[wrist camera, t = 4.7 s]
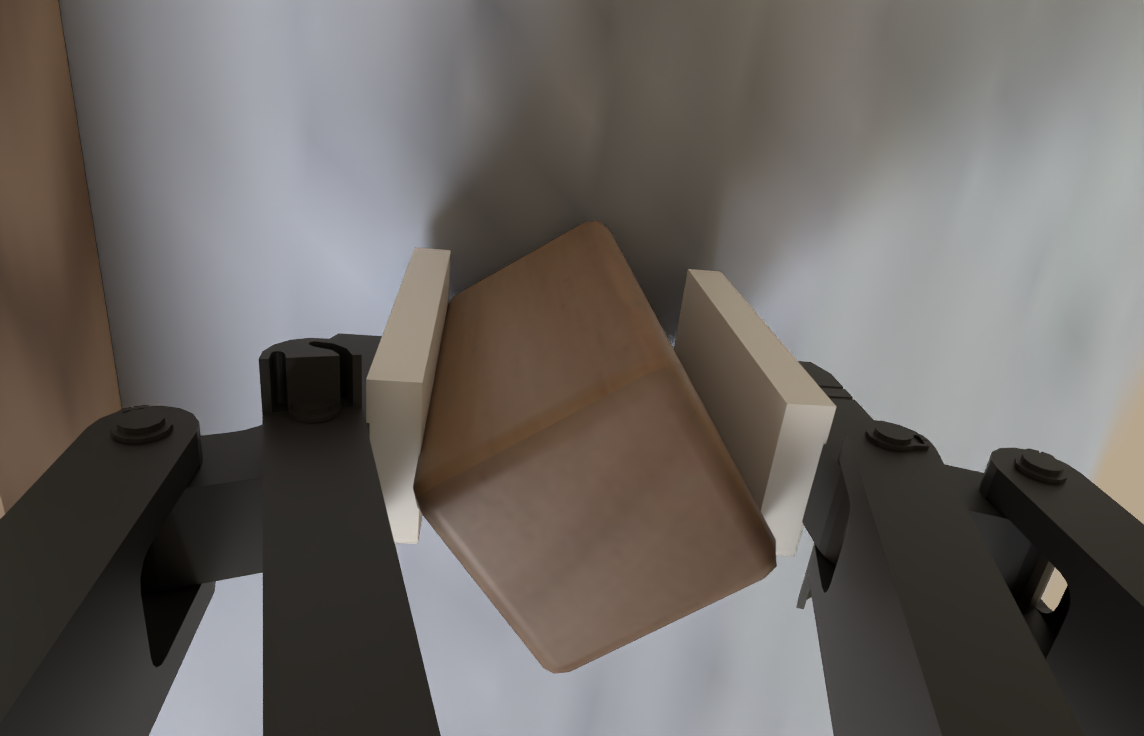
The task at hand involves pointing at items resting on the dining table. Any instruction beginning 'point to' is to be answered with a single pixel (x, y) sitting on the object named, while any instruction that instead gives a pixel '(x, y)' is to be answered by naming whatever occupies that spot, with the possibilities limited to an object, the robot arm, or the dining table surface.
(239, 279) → the dining table surface
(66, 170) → the walnut stand
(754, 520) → the wooden block
